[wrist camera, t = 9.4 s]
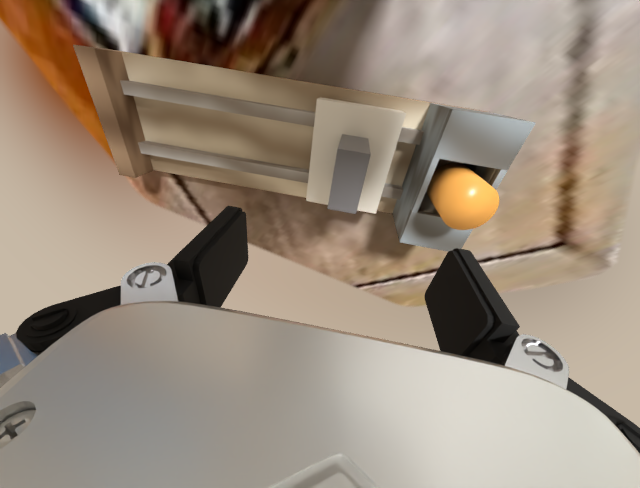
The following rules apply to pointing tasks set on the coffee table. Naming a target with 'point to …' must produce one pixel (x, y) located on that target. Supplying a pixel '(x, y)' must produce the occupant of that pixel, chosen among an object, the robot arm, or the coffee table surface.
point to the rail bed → (283, 133)
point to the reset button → (462, 197)
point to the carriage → (351, 154)
